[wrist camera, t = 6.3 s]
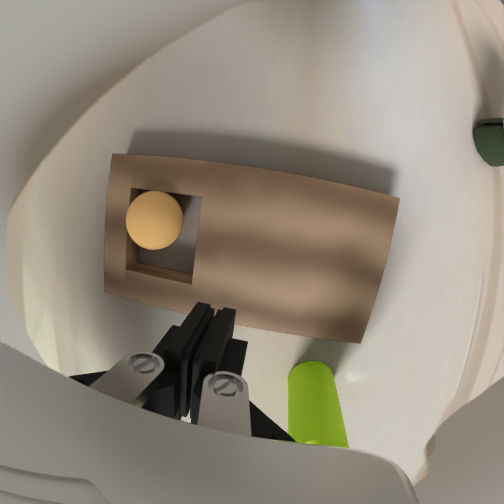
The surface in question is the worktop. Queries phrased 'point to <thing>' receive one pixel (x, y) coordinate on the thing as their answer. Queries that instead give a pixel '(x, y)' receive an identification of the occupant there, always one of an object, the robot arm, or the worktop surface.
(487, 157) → the character mug
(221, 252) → the board
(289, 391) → the soap dispenser
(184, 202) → the worktop surface
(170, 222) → the ball
